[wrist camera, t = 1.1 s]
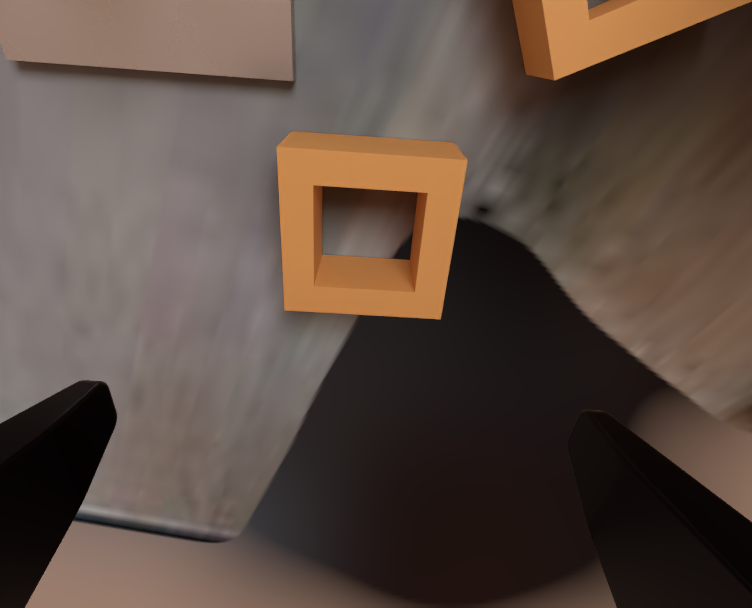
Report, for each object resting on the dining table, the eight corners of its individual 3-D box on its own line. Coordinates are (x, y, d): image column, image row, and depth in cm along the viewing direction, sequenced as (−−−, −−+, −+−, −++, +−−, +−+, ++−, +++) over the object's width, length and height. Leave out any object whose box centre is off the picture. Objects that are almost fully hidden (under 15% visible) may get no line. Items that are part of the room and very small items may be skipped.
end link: (454, 142, 17) (467, 160, 15) (432, 284, 21) (440, 319, 18) (291, 131, 17) (276, 146, 14) (296, 276, 20) (284, 310, 18)
